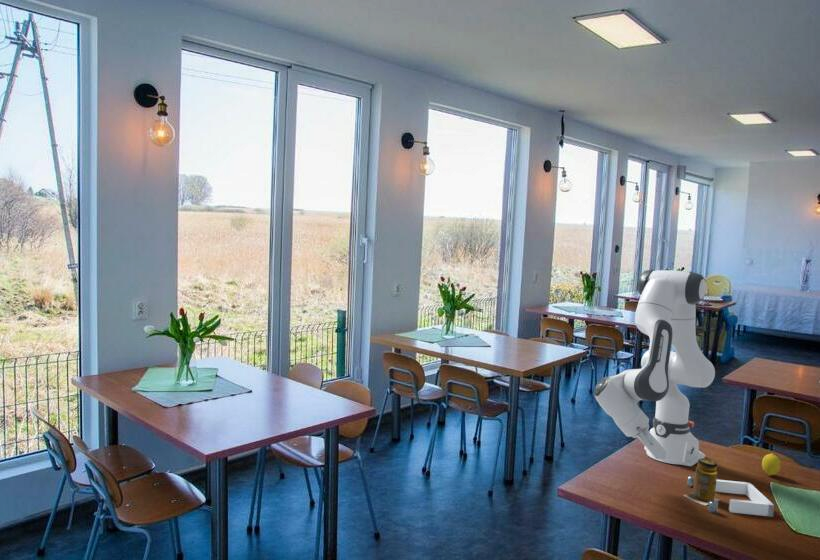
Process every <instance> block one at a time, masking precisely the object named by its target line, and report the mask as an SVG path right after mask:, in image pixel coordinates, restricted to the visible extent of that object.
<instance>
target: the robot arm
mask: <svg viewBox="0 0 820 560" xmlns="http://www.w3.org/2000/svg"><path fill="white" fill-rule="evenodd" d="M637 291H638V293H639V296H640V297H639V300H638V303H637V305H636V306H637V307H636V310H635V313H634V324H635V326H636V328H637V329H638V330H639V331H640V332H641V333H642V334H644V335H646V336H648V337H649V345H648V346H649V347H648V350H646V351H645V352H644V353H643V355H642V357H641V361H640V366H641V368H631V369H625V370H623V371H621V372H620V373H618V374H616V375H612V376H604V377H602V378H601V379H600V380H598V382H597V383H596V384H595V387H594V389H593V395H594V398H595V400H596V401H597V403H598V404H599V406H600V407H601V408H602V410H603V411H604V412H605V413H606V415H608V416H609V417H611V418H612V419H613V422H614V423H615V424H616V426H617V427H618V428H619V430H620V431H621V432H622V433H623V434H624V435H625V437H627V438H630V437H631V438H633V439H638V440H640V442H641V443H642V445H644V448H643V449H644V450H645V452H646V455H647V456H648V457H649V458H651V459H653V460H656V461H658V462H661V463H666V464H672V465H681V466H687V467H693V466H695V465H696V464H698V460H699V459H702V458H704V459H706V454H705V453H703V452H702V451H700V450H699V449H700V442H699V440H698V438H696V437H695V435H693V433H692V432H691V429H690V428H694V426H695V422H694V421H691V420H689V413H690V400H689V398H688V397H687V395H685V394H684V393H682V392H681V391H680V389H679V387H678V385H682V386H686V387H689V388H707V387H709V386H710V385H711V384H713V381H714V379H715V375H716V370H715V366H714V365H713V363H712V361H710V360H709V359H708V358H707V357H706V356H705V355H704V353H703V352H702V350H701V347H700V346H699V344H698V340H697V336H696V335H697V333H696V317H697V316H696V314H697V311H696V308H697V307H696V305H697V304H698V303H700V302H701V301H703V299H704V298H705V296H706V293H707V281H706V278H705V277H704V275H702V274H700V273H697V272H693V271H692V272H688V271H683V270H677V269H676V270H675V269H672V270H670V269H669V270H668V269H666V270H665V269H657V270H655V269H648V270H644V271H643V272H641V274H640V275H639V277H638V280H637ZM672 349H673V351H672ZM677 384H678V385H677ZM641 401H647V402H648V401H649V402H655V415H654V416H653V419H652V428H650V425H649V423H650V418H649V417H648V416H647V415H646V413H645V412H644V411H643V410H642V409H641V408H640V407H639V405H638V403H639V402H641ZM649 428H650V430H649Z"/></svg>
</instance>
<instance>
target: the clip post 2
mask: <svg viewBox="0 0 820 560" xmlns="http://www.w3.org/2000/svg"><path fill="white" fill-rule="evenodd" d="M718 509H719V501H717V502H716V501H713V500H710V501H709V504H708V509H707V510H708V512H709V513H710V514H715V515H716V514H718Z"/></svg>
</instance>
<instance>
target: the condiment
mask: <svg viewBox="0 0 820 560" xmlns="http://www.w3.org/2000/svg"><path fill="white" fill-rule="evenodd" d="M717 463H718V462H716V461H714V460H712V459H709V458H702V459H699V460H698V462H697V466H696V467H695V473H694V477H695V480H694V488H692V489H693V490H692V492H690V493H687V494H684V495H682V496H683V497H685V498H687V499H689V500H690V501H692V502H695V503H698V504H699V505H702V506H709V501H710V500H713V501H716V502H720V499H719V498H716V497H715V496H716V495H715V494H716V492H715V489H716V480H717V479H718V471H717V466H718V465H717Z"/></svg>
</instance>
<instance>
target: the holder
mask: <svg viewBox="0 0 820 560" xmlns="http://www.w3.org/2000/svg"><path fill="white" fill-rule="evenodd" d="M716 492H717V493H724V494H725V493H727V494H735V495H745V496H747V497H748V498H749V500H745V499H736V498H729V501H728V502H729V504H728V511H729V513H734V514H744V515H751V516H752V515H754V516H762V517H772V518H773V517H774V514H775V505H774V503H773V502H771V500H770V499H768V498H767V497H766V496H765V495H764V494H763V493H762V492H760V491H759V489H757V488H756V487H755V485H754V484H752V483H751V482H748V481H747V482H746V481H736V480H735V481H734V480H728V479H727V480H725V479H718V478H717V480H716V489H715V493H716Z"/></svg>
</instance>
